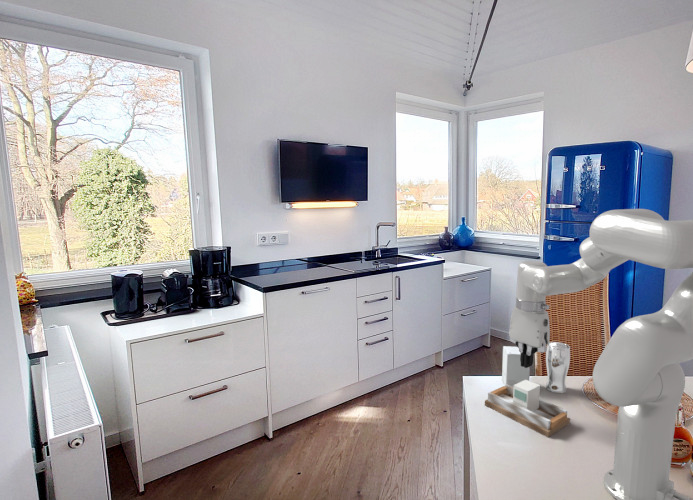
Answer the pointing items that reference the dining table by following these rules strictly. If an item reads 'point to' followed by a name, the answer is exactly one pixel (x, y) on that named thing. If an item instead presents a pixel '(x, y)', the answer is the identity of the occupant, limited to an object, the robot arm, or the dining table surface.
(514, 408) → the rail board
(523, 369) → the supplement box
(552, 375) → the beer glass
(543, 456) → the dining table surface
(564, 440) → the dining table surface
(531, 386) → the block
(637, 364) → the robot arm
